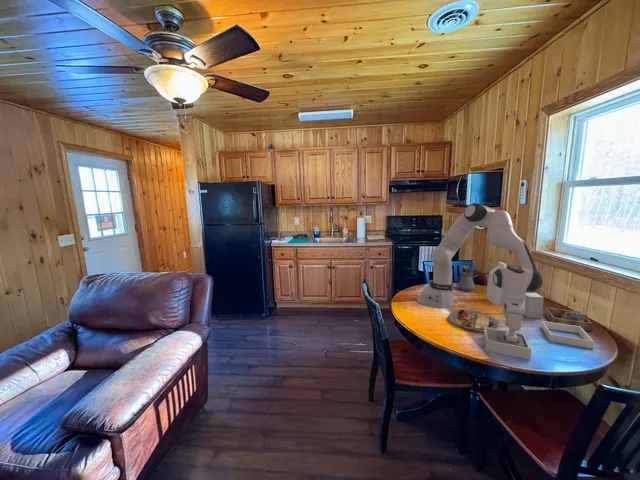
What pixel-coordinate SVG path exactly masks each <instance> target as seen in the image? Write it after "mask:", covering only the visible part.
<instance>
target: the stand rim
mask: <svg viewBox="0 0 640 480" xmlns="http://www.w3.org/2000/svg"><path fill="white" fill-rule="evenodd" d="M565 312H578V313H581V314H583V312H581V311H577V310H568V309H562V308H553V307H544V315H545V317H546V318H547V320H548V322H553V323H560V324H567V325H574V326H580V327H581V328H582V329H583V330H584V331H589V332H592V330H593V323H592V322H591V321H590V320H589V319H588V317H587V318H586V322H581V321H574V320H567V319H562V315H563V314H564V313H565ZM559 317H560V318H559Z"/></svg>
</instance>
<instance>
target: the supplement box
mask: <svg viewBox="0 0 640 480" xmlns="http://www.w3.org/2000/svg"><path fill="white" fill-rule="evenodd" d="M525 295H526V301H525V314H523V316H525V317H526V318H528V319H542V318H543V307H544V299H545V298H544V296H542V295H540V294H538V293H537V292H525Z"/></svg>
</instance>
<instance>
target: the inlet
mask: <svg viewBox="0 0 640 480" xmlns="http://www.w3.org/2000/svg"><path fill="white" fill-rule="evenodd" d="M517 337H518V341H517V343H516V342H510V341H505V333H499V332H498V337H497V341H498V342H500V343H506V344H511V345H516V346H522V347H525V344H524V342H523V339H522V337H521V336H517Z"/></svg>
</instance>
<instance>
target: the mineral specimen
mask: <svg viewBox="0 0 640 480" xmlns="http://www.w3.org/2000/svg"><path fill="white" fill-rule="evenodd" d="M578 312H579V311H578ZM578 312H565V313H564V314H563V315H562V317H561V319H567V320H574V321H581V322H586V318H587V319H588V314H585V313H582V312H581V313H582V314H581V313H578Z"/></svg>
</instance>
